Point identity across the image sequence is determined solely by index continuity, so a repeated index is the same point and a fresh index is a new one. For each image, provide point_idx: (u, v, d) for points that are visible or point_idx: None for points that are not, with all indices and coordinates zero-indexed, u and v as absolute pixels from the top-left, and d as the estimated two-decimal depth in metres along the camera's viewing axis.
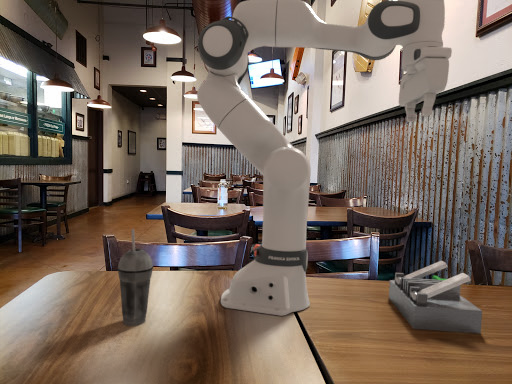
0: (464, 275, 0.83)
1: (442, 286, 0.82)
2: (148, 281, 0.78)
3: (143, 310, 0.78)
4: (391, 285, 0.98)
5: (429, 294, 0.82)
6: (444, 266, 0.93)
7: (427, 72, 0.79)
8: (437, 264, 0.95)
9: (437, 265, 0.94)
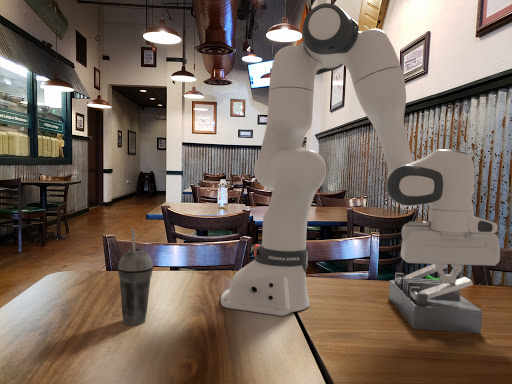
0: (466, 279, 0.83)
1: (443, 288, 0.82)
2: (148, 281, 0.78)
3: (143, 310, 0.78)
4: (391, 285, 0.98)
5: (430, 295, 0.82)
6: None
7: (498, 249, 0.80)
8: None
9: None
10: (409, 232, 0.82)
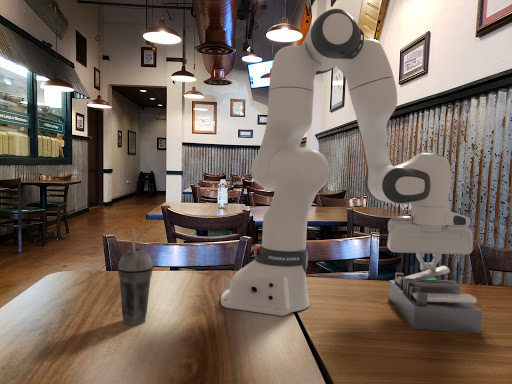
0: (471, 296, 0.83)
1: (447, 297, 0.82)
2: (148, 281, 0.78)
3: (143, 310, 0.78)
4: (391, 285, 0.98)
5: (432, 299, 0.82)
6: (446, 271, 0.93)
7: (471, 240, 0.92)
8: (439, 268, 0.95)
9: (439, 269, 0.94)
10: (394, 225, 0.94)
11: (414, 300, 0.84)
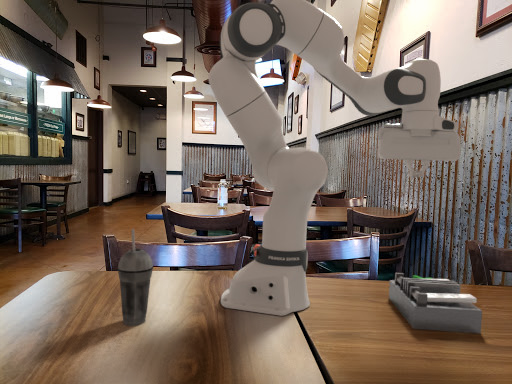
0: (471, 296, 0.83)
1: (447, 297, 0.82)
2: (148, 281, 0.78)
3: (143, 310, 0.78)
4: (391, 285, 0.98)
5: (432, 299, 0.82)
6: None
7: (459, 145, 0.94)
8: None
9: None
10: (384, 132, 0.96)
11: (414, 300, 0.84)
